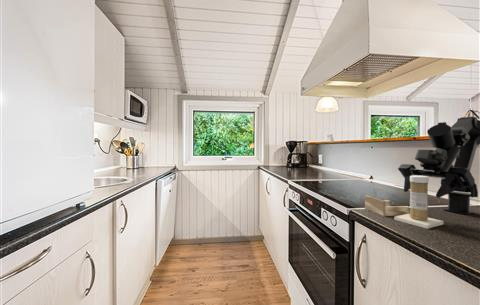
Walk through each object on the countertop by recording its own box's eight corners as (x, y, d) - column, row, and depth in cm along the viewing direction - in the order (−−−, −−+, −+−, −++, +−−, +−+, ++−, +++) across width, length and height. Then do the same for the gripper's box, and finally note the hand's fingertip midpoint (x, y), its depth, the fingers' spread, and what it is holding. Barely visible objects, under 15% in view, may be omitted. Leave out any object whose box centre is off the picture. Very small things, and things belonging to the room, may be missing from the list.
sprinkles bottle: (427, 218, 70) (428, 175, 70) (427, 221, 67) (428, 177, 67) (409, 215, 73) (410, 174, 73) (408, 218, 70) (409, 175, 70)
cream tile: (410, 216, 76) (410, 213, 76) (443, 224, 68) (443, 221, 68) (394, 219, 72) (394, 216, 72) (427, 228, 64) (427, 225, 64)
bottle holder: (388, 208, 87) (388, 195, 87) (409, 215, 77) (409, 200, 77) (364, 208, 86) (365, 195, 86) (383, 215, 76) (383, 201, 76)
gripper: (401, 141, 81) (379, 173, 77) (469, 139, 63) (444, 180, 59) (416, 162, 83) (395, 194, 80) (484, 166, 66) (461, 207, 62)
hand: (420, 193), depth 70 cm, fingers open, 9 cm apart
